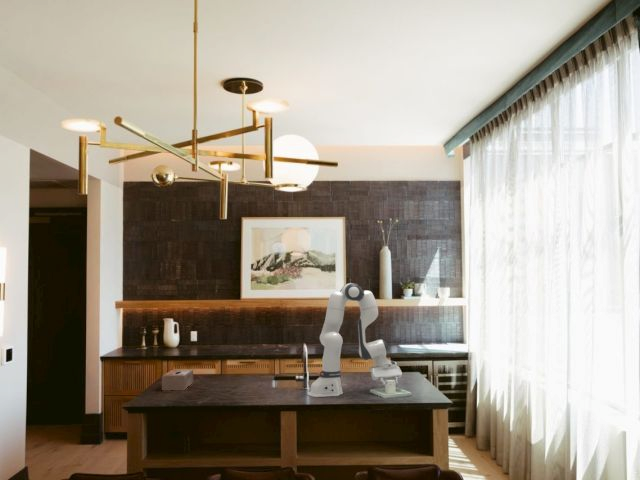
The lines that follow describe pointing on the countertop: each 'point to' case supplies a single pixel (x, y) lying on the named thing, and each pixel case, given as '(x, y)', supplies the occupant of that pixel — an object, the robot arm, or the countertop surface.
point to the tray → (398, 394)
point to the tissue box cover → (177, 380)
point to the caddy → (390, 387)
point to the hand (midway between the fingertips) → (390, 384)
